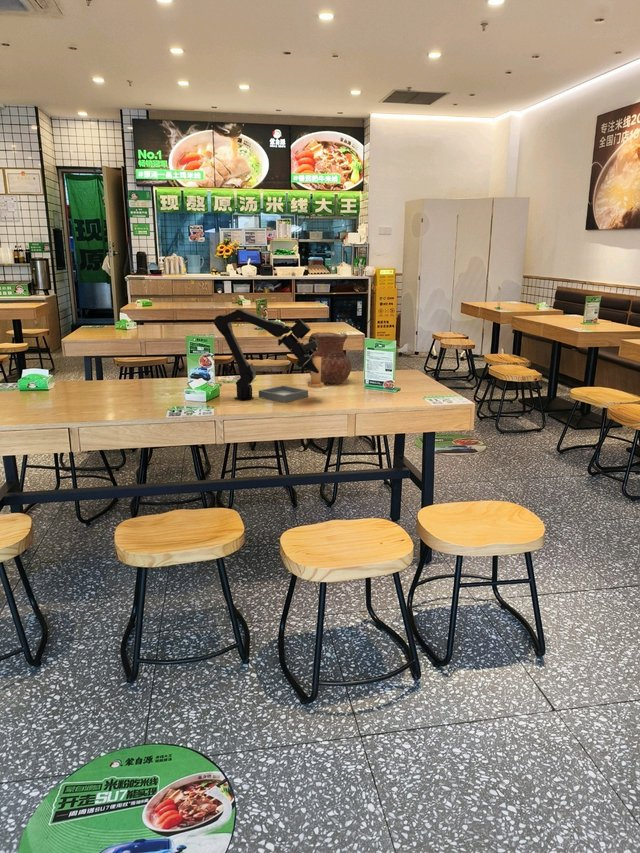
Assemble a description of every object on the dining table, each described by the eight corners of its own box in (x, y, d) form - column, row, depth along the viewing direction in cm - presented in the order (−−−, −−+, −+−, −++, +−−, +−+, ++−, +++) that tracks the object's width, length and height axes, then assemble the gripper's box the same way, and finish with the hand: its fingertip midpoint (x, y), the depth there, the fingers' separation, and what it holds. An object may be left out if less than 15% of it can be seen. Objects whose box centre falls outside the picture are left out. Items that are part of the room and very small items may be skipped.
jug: (351, 378, 329) (352, 331, 322) (351, 387, 309) (352, 336, 302) (309, 378, 330) (309, 330, 323) (306, 386, 309) (306, 335, 303)
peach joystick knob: (316, 388, 272) (316, 359, 268) (304, 386, 276) (304, 357, 273) (327, 386, 277) (327, 357, 274) (314, 384, 282) (315, 355, 278)
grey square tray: (283, 402, 275) (283, 395, 274) (258, 397, 285) (258, 390, 284) (308, 396, 287) (308, 390, 286) (283, 391, 297) (283, 385, 296)
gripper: (304, 336, 262) (330, 363, 264) (309, 330, 280) (333, 356, 282) (286, 354, 265) (311, 380, 267) (292, 347, 283) (316, 372, 285)
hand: (318, 371), depth 275 cm, fingers closed on peach joystick knob, 4 cm apart
